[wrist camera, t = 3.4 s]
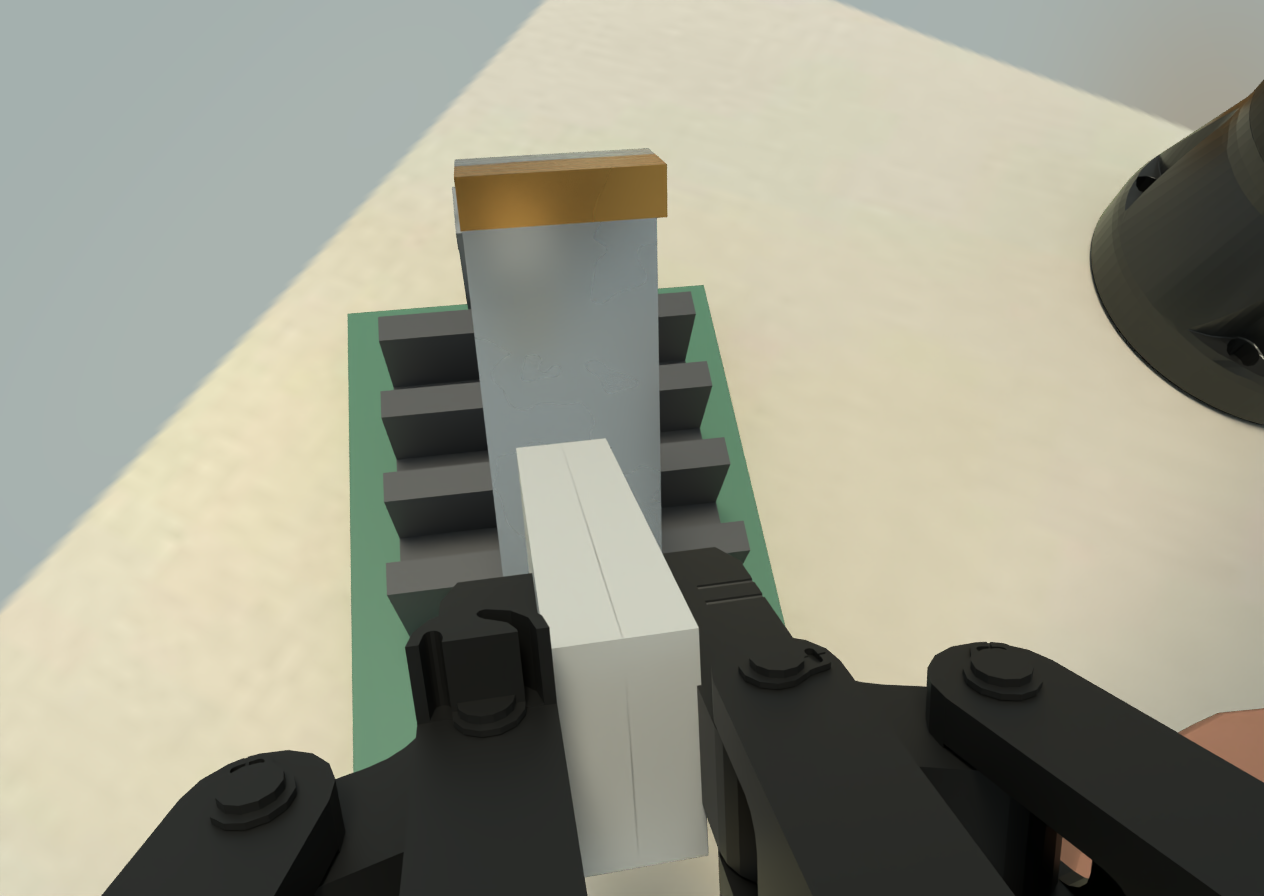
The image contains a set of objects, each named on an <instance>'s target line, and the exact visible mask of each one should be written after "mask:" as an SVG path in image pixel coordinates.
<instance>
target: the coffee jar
mask: <svg viewBox="0 0 1264 896" xmlns="http://www.w3.org/2000/svg"><path fill="white" fill-rule="evenodd" d="M1178 733H1179V734H1181V735H1183V736H1184V737H1186V738H1188V739H1189V740H1191V741H1193V742H1195V743H1196V744H1198V745H1200V746H1202V747H1203V748H1205V749H1207V750H1209V751H1210V752H1212V753H1214V754H1215V755H1217V756H1219V757H1221V758H1222V759H1224V760H1226V761H1228V762H1229V763H1231V764H1233V765H1234V766H1236V767H1238V768H1240V769H1241V770H1243V771H1245V772H1247V773H1248V774H1250V775H1252V776H1253V777H1255V778H1257V779H1259V780H1260V781H1262V782H1264V708H1263V709H1253V710H1243V711H1233V712H1223V713H1217V714H1215V715H1213V716H1211V717H1208V718H1206V719H1204V720H1202V721H1200V722H1197V723H1195V724H1193V725H1191V726H1189V727H1188V728H1186V729H1184V730H1182V731H1180V732H1178ZM1060 860H1061V861H1062V862H1063V863H1065V864H1066V865H1067V866H1068V867H1070V868H1071V869H1072V870H1073V871H1075V872H1076V873H1078V874H1080V875H1081V876H1083V877H1085V878H1089V876H1090V873H1091V865H1092V860H1091V859H1090V858H1089V857H1087V856H1086V855H1085V854H1084V853H1082V852H1081V851H1080V850H1079V849H1077V848H1076V847H1075V846H1073V845H1072V844H1071V843H1070V842H1068V841H1067V840H1066V839H1065V838H1062V847H1061V856H1060Z"/></svg>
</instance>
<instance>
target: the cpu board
mask: <svg viewBox="0 0 1264 896" xmlns="http://www.w3.org/2000/svg"><path fill="white" fill-rule="evenodd" d="M452 193H453V204H454V216H455V228H456V237H457V244H458V250H459V253H460V259H461V266H462V273H463V279H464V286H465V292H466V299H467V304H463V305H451V306H439V307H426V308H414V309H401V310H389V311H377V312H364V313H352V314H348V380H349V458H350V536H351V615H352V693H353V771H354V772H357V771H360V770H362V769H365V768H368V767H370V766H372V765H374V764H377V763H379V762H381V761H383V760H386V759H388V758H389V757H391V756H392V755H394V754H396V753H397V752H399V751H400V750H402V749H403V748H405V747H406V746H407V745H408V744H409V743H411V742H412V741H413V740H414V739H415V738H416V730H417V721H416V715H415V708H414V702H413V696H412V689H411V683H410V677H409V670H408V664H407V658H406V651H405V646H406V644H407V642H408V640H409V638H410V636H411V634H412V633H413V632H414V631H415V630H417V629H418V628H419V627H420V626H422V625H423V624H424V623H426V622H427V621H428V620H430V619H432V618H435V617H437V616H439V608H440V602H441V601H442V600H443V598H444V597H445V596H446V595H447V594H448V593H449V592H450V590H451V589H452V588H453V587H454V586H455V585H456V584H457V582H465V581H473V580H481V579H489V578H497V577H503V572H502V563H501V555H500V546H499V538H498V529H497V521H496V513H495V504H494V496H493V487H492V479H491V470H490V462H489V454H488V445H487V437H486V428H485V420H484V412H483V403H482V395H481V386H480V378H479V369H478V361H477V353H476V344H475V336H474V327H473V319H472V310H471V302H470V294H469V285H468V277H467V268H466V260H465V252H464V243H463V235H462V231H460V223H459V215H458V207H457V198H456V190H455V187H452ZM658 337H659V401H660V466H661V531H662V553H670V552H678V551H686V550H694V549H702V548H710V547H716V548H718V549H720V550H722V551H723V552H725V553H727V554H729V555H731V556H733V557H735V558H736V559H738V560H740V561H741V563H742V564H743V566H744V567H745V569H746V570H747V571H748V573H749V574H750V576H751V577H752V581H753V582H755V583H756V585H757V586H758V588H759V589H760V591H761V592H762V596H763V597H765V598H766V599H767V601H768V602H769V604H770V605H771V607H772V608H773V610H774V611H775V612H776V614H777V615H778V617H779V618H780V620H781V621H782V623H783V624H784V626H785V623H784V619H783V615H782V611H781V607H780V603H779V598H778V594H777V590H776V586H775V582H774V577H773V573H772V569H771V565H770V561H769V557H768V552H767V548H766V544H765V540H764V536H763V531H762V527H761V523H760V519H759V515H758V511H757V506H756V502H755V498H754V494H753V490H752V486H751V481H750V477H749V473H748V469H747V465H746V460H745V456H744V452H743V448H742V444H741V440H740V435H739V431H738V427H737V423H736V419H735V414H734V410H733V406H732V402H731V398H730V394H729V389H728V385H727V381H726V377H725V373H724V368H723V364H722V360H721V356H720V352H719V348H718V343H717V339H716V335H715V331H714V327H713V323H712V318H711V314H710V310H709V306H708V302H707V297H706V293H705V289H704V285H699V286H686V287H674V288H661V289H658Z"/></svg>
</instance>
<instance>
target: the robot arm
mask: <svg viewBox="0 0 1264 896" xmlns="http://www.w3.org/2000/svg"><path fill="white" fill-rule="evenodd" d="M1091 260H1092V269H1093V275H1094V279H1095V283H1096V286H1097V289H1098V292H1099V295H1100V297H1101V299H1102V301H1103V304H1104V306H1105V308H1106V310H1107V311H1108V313H1109V315H1110V317H1111V318H1112V320H1113V322H1114V323H1115V325H1116V326H1117V328H1118V329H1119V330H1120V332H1121V333H1122V334H1123V336H1124V337H1125V338H1126V339H1127V341H1128V342H1129V343H1130V344H1131V345H1132V346H1133V348H1134V349H1135V350H1136V351H1137V352H1138V353H1139V354H1140V355H1141V356H1142V357H1143V358H1144V359H1145V360H1146V361H1147V362H1148V363H1149V364H1150V365H1152V366H1153V367H1154V368H1155V369H1156V370H1157V371H1158V372H1160V373H1161V374H1162V375H1163V376H1165V377H1166V378H1167V379H1169V380H1170V381H1171V382H1173V383H1174V384H1176V385H1177V386H1178V387H1180V388H1181V389H1183V390H1184V391H1186V392H1188V393H1189V394H1191V395H1192V396H1194V397H1196V398H1198V399H1200V400H1201V401H1203V402H1205V403H1207V404H1209V405H1211V406H1213V407H1215V408H1217V409H1220V410H1222V411H1224V412H1226V413H1229V414H1231V415H1234V416H1237V417H1239V418H1242V419H1245V420H1248V421H1252V422H1255V423H1259V424H1263V425H1264V80H1263V81H1262V82H1261V84H1259V86H1258V87H1257V88H1256V89H1255V90H1254V91H1253V92H1252V93H1251V94H1250V95H1249V96H1248V97H1246V98H1245V99H1243V100H1242V101H1240V102H1239V103H1237V104H1236V105H1234V106H1233V107H1231V108H1230V109H1228V110H1227V111H1225V112H1224V113H1222V114H1221V115H1219V116H1218V117H1216V118H1214V119H1213V120H1211V121H1210V122H1208V123H1207V124H1205V125H1204V126H1202V127H1201V128H1199V129H1198V130H1196V131H1195V132H1193V133H1192V134H1190V135H1189V136H1187V137H1186V138H1184V139H1182V140H1181V141H1179V142H1178V143H1176V144H1175V145H1173V146H1172V147H1170V148H1169V149H1167V150H1166V151H1164V152H1163V153H1161V154H1160V155H1158V156H1157V157H1155V158H1154V159H1152V160H1151V161H1149V162H1148V163H1146V164H1145V165H1144V166H1143V167H1142V168H1140V169H1139V170H1138V171H1137V172H1136V173H1135V174H1134V175H1133V176H1132V177H1131V178H1130V179H1129V180H1128V182H1127V183H1126V184H1125V185H1124V187H1123V188H1122V189H1121V190H1120V192H1119V193H1118V194H1117V196H1116V197H1115V198H1114V199H1113V201H1112V202H1111V203H1110V204H1109V206H1108V207H1107V208H1106V210H1105V211H1104V212H1103V214H1102V216H1101V217H1100V219H1099V221H1098V223H1097V226H1096V229H1095V231H1094V235H1093V240H1092V248H1091ZM516 453H517V462H518V472H519V481H520V490H521V500H522V509H523V519H524V528H525V537H526V547H527V556H528V566H529V573H528V574H520V575H512V576H504V577H497V578H489V579H481V580H473V581H465V582H457V584H456V585H455V586H454V587H453V588H452V589H451V590H450V592H449V593H448V594H447V595H446V596H445V597H444V598H443V600H442V601H441V602H440V608H439V616H437V617H435V618H432V619H430V620H428V621H427V622H426V623H424V624H423V625H422V626H420V627H419V628H418V629H417V630H415V631H414V632H413V633H412V634H411V636H410V638H409V640H408V642H407V644H406V646H405V651H406V658H407V664H408V670H409V677H410V683H411V689H412V696H413V702H414V708H415V715H416V721H417V730H416V738H415V739H414V740H413V741H412V742H411V743H409V744H408V745H407V746H406V747H405V748H403V749H402V750H400V751H399V752H397V753H396V754H394V755H392V756H391V757H389V758H388V759H386V760H383V761H381V762H379V763H377V764H374V765H372V766H370V767H368V768H365V769H362V770H360V771H357V772H354V773H351V774H349V775H346V776H343V777H340V778H338V779H335V777H334V775H333V772H332V770H331V767H330V764H329V763H327V762H326V761H324V760H323V759H321V758H319V757H318V756H316V755H314V754H313V753H306V752H298V751H291V750H285V751H277V752H269V753H261V754H257V755H253V756H249V757H248V758H245V759H244V758H243V759H240V760H238V761H235V762H233V763H230V764H228V765H226V766H224V767H223V768H221V769H219V770H217V771H216V772H214V773H212V774H210V775H209V776H207V777H205V778H203V779H202V780H200V781H199V782H198V783H197V784H196V785H195V786H194V787H193V788H192V789H190V790H189V791H188V792H187V793H186V794H185V795H184V796H183V797H182V798H181V799H180V800H179V801H178V802H177V803H176V804H175V806H174V807H173V808H172V809H171V811H170V812H169V813H168V814H167V815H166V817H165V818H164V819H163V820H162V822H161V823H160V824H159V825H158V827H157V828H156V829H155V830H154V832H153V833H152V834H151V835H150V836H149V838H148V839H147V840H146V841H145V843H144V844H143V845H142V846H141V848H140V849H139V850H138V851H137V852H136V854H135V855H134V856H133V857H132V859H131V860H130V861H129V862H128V864H127V865H126V866H125V867H124V869H123V870H122V871H121V872H120V873H119V875H118V876H117V877H116V878H115V880H114V881H113V882H112V883H111V885H110V886H109V887H108V888H107V889H106V891H105V892H104V893H103V894H102V896H587V891H586V884H585V878H584V877H589V876H595V875H600V874H606V873H612V872H617V871H623V870H629V869H634V868H640V867H645V866H651V865H657V864H662V863H668V862H674V861H679V860H685V859H691V858H696V857H702V856H707V855H708V832H707V818H708V821H709V824H710V827H711V829H712V832H713V835H714V838H715V841H716V843H717V846H718V857H719V883H720V896H1264V782H1262V781H1260V780H1259V779H1257V778H1255V777H1253V776H1252V775H1250V774H1248V773H1247V772H1245V771H1243V770H1241V769H1240V768H1238V767H1236V766H1234V765H1233V764H1231V763H1229V762H1228V761H1226V760H1224V759H1222V758H1221V757H1219V756H1217V755H1215V754H1214V753H1212V752H1210V751H1209V750H1207V749H1205V748H1203V747H1202V746H1200V745H1198V744H1196V743H1195V742H1193V741H1191V740H1189V739H1188V738H1186V737H1184V736H1183V735H1181V734H1179V733H1177V732H1176V731H1174V730H1172V729H1170V728H1169V727H1167V726H1165V725H1164V724H1162V723H1160V722H1158V721H1157V720H1155V719H1153V718H1151V717H1150V716H1148V715H1146V714H1144V713H1143V712H1141V711H1139V710H1138V709H1136V708H1134V707H1132V706H1131V705H1129V704H1127V703H1125V702H1124V701H1122V700H1120V699H1119V698H1117V697H1115V696H1113V695H1112V694H1110V693H1108V692H1106V691H1105V690H1103V689H1101V688H1100V687H1098V686H1096V685H1094V684H1093V683H1091V682H1089V681H1087V680H1086V679H1084V678H1082V677H1080V676H1079V675H1077V674H1075V673H1074V672H1072V671H1070V670H1068V669H1067V668H1065V667H1063V666H1061V665H1060V664H1058V663H1056V662H1055V661H1053V660H1051V659H1048V658H1046V657H1044V656H1041V655H1039V654H1037V653H1034V652H1032V651H1030V650H1027V649H1022V648H1018V647H1013V646H1009V645H1007V644H1004V643H995V642H990V643H987V642H975V643H970V644H964V645H959V646H953V647H950V648H948V649H946V650H944V651H942V652H941V653H939V654H937V655H935V656H934V658H933V660H932V661H931V663H930V665H929V667H928V671H927V687H922V686H901V685H881V684H872V683H864V682H858V681H855V680H854V678H853V677H852V676H851V674H850V673H849V672H848V670H847V669H846V668H845V666H844V665H843V664H842V662H841V661H840V660H839V659H838V658H837V657H835V656H834V655H833V654H832V653H831V652H830V651H828V650H827V649H826V648H824V647H821V646H819V645H816V644H814V643H811V642H809V641H806V640H802V639H796V638H793V637H792V636H791V634H790V633H789V631H788V630H787V629H786V627H785V626H784V624H783V623H782V621H781V620H780V618H779V617H778V615H777V614H776V612H775V611H774V610H773V608H772V607H771V605H770V604H769V602H768V601H767V599H766V598H765V597H763V596H762V592H761V591H760V589H759V588H758V586H757V585H756V583H755V582H753V581H752V577H751V576H750V574H749V573H748V571H747V570H746V569H745V567H744V566H743V564H742V563H741V561H740V560H738V559H736V558H735V557H733V556H731V555H729V554H727V553H725V552H723V551H722V550H720V549H718V548H716V547H710V548H702V549H694V550H686V551H678V552H670V553H662V552H661V550H660V548H659V546H658V544H657V542H656V540H655V538H654V536H653V534H652V532H651V530H650V528H649V526H648V524H647V521H646V519H645V517H644V515H643V513H642V511H641V509H640V507H639V505H638V503H637V501H636V499H635V497H634V495H633V493H632V491H631V489H630V487H629V485H628V483H627V481H626V479H625V477H624V475H623V473H622V471H621V468H620V466H619V464H618V462H617V460H616V458H615V456H614V454H613V452H612V450H611V448H610V446H609V444H608V442H607V440H606V438H604V439H595V440H585V441H576V442H567V443H558V444H548V445H539V446H530V447H520V448H516ZM1062 838H1065V839H1066V840H1067V841H1068V842H1070V843H1071V844H1072V845H1073V846H1075V847H1076V848H1077V849H1079V850H1080V851H1081V852H1082V853H1084V854H1085V855H1086V856H1087V857H1089V858H1090V859H1091V860H1092V865H1091V873H1090V876H1089V878H1085V877H1083V876H1081V875H1080V874H1078V873H1076V872H1075V871H1073V870H1072V869H1071V868H1070V867H1068V866H1067V865H1066V864H1065V863H1063V862H1062V861H1061V860H1060V856H1061V847H1062Z"/></svg>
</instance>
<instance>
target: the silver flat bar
mask: <svg viewBox="0 0 1264 896" xmlns="http://www.w3.org/2000/svg"><path fill="white" fill-rule="evenodd" d="M454 182H455V190H456V198H457V207H458V215H459V223H460V231H462V235H463V243H464V252H465V260H466V268H467V277H468V285H469V294H470V302H471V310H472V319H473V327H474V336H475V344H476V353H477V361H478V369H479V378H480V386H481V395H482V403H483V412H484V420H485V428H486V437H487V445H488V454H489V462H490V470H491V479H492V487H493V496H494V504H495V513H496V521H497V529H498V538H499V546H500V555H501V563H502V572H503V577H504V576H512V575H520V574H528V573H529V566H528V556H527V547H526V537H525V528H524V519H523V509H522V500H521V490H520V481H519V472H518V462H517V453H516V448H520V447H530V446H539V445H548V444H558V443H567V442H576V441H585V440H595V439H604V438H606V440H607V442H608V444H609V446H610V448H611V450H612V452H613V454H614V456H615V458H616V460H617V462H618V464H619V466H620V468H621V471H622V473H623V475H624V477H625V479H626V481H627V483H628V485H629V487H630V489H631V491H632V493H633V495H634V497H635V499H636V501H637V503H638V505H639V507H640V509H641V511H642V513H643V515H644V517H645V519H646V521H647V524H648V526H649V528H650V530H651V532H652V534H653V536H654V538H655V540H656V542H657V544H658V546H659V548H660V550H661V552H662V531H661V466H660V401H659V337H658V272H657V218H660V217H667V164H666V163H665V162H664V161H663V160H661V159H660V158H659V157H658V156H657V155H656V154H654V153H653V152H652V151H651V150H650V149H649V148H644V149H627V150H610V151H593V152H576V153H559V154H542V155H524V156H507V157H490V158H473V159H456V160H455V164H454Z"/></svg>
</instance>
